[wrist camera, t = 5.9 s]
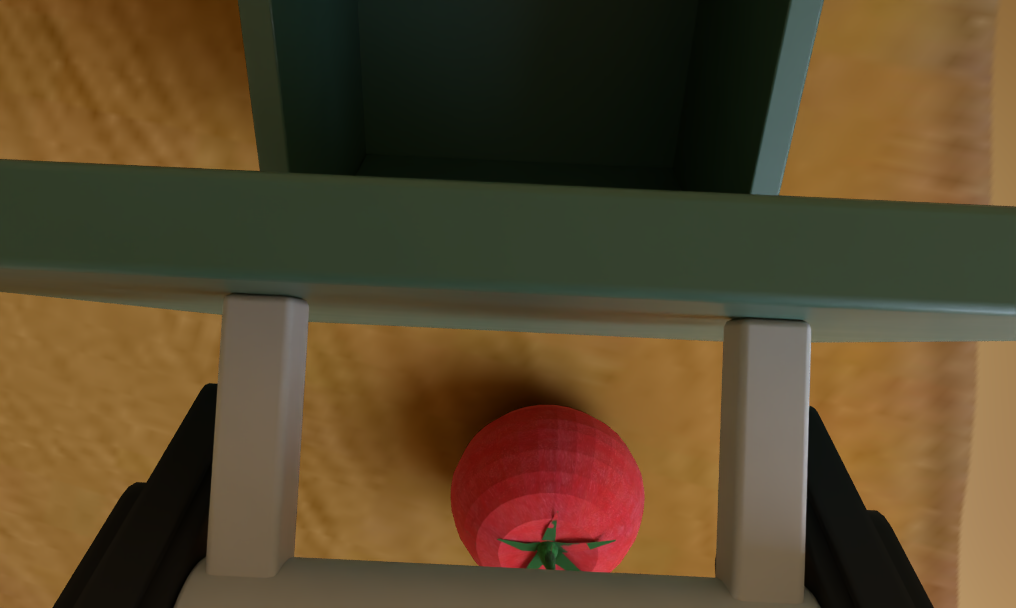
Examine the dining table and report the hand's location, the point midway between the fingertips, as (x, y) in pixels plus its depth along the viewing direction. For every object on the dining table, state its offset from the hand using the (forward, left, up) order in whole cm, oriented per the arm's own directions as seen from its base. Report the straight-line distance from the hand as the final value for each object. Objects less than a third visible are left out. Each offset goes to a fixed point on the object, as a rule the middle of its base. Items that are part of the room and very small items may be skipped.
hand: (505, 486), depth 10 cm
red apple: (+18, +2, -22) cm, 29 cm away
